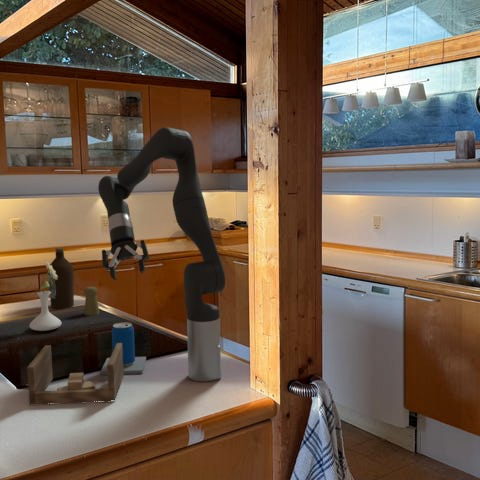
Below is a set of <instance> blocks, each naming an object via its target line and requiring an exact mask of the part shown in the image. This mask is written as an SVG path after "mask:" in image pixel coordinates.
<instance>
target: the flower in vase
mask: <svg viewBox="0 0 480 480" xmlns="http://www.w3.org/2000/svg"><path fill="white" fill-rule="evenodd" d="M44 264H45V267H46V269H47V273H46V275H45V278H44V280H43V284H42V285H41V286H40V287H39V288H40V289H41V290H42V291H38V292H36V295H37V296H38V298H39V301H40V305H41V308H40V309H41V312H40V313H39V314H38V315H37V316H36V317H35V318H34V319H33V320H32V321H31V322H30V323H29V328H30V329H31V330H33V331H38V332H45V331H51V330H52V331H53V330H55V329H58V328H60V327H61V326H62V323H63V322H62V321H61V320H60V319H59V318H58V317H56V316H55V315H54V314H52V313H51V312H50V311H49V306H48V304H49V303H48V301H49V298H50V293H51V292H50V291H49V290H47V291H46V290H45V289H46V288H49V286H50V285H49V281H48V280H46V279H48V273H50V274H51V276H52V277H53V278H54V279H56V280H57V277H58V276H57V275H56V274H55V273H56V271H55V270H53V268H52V265H50V263H49V261H44Z"/></svg>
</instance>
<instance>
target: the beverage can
mask: <svg viewBox="0 0 480 480" xmlns="http://www.w3.org/2000/svg"><path fill="white" fill-rule="evenodd" d="M111 343H112V352H113V351H114V348H115V346H116V344H117V343H122V350H123V366H129V365H131V364H132V363H133V362H134V361H135V357H136V356H135V355H136V353H135V350H136V349H135V329H134V326H133V324H132V323H131V322H126V321H125V322H117V323H114V324H113V325H112V328H111Z"/></svg>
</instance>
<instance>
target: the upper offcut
mask: <svg viewBox="0 0 480 480" xmlns="http://www.w3.org/2000/svg"><path fill="white" fill-rule="evenodd" d="M84 375H85V374H84V372H71V373H70V372H69V376H68V378H67V379H68V380H67V386H68V390H82V387H83V383H84V382H85V379H84V377H85V376H84Z"/></svg>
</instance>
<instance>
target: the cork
mask: <svg viewBox="0 0 480 480" xmlns="http://www.w3.org/2000/svg"><path fill="white" fill-rule="evenodd" d="M98 291H99V290H98V289H97V287H95V286H88V287H85V288H84V295H85V302H84V303H85V304H84V314H83V315H85V316H88V317H89V316H90V317H91V316H97V315H99V314H100V308H99V303H98V297H97V294H98Z"/></svg>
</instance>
